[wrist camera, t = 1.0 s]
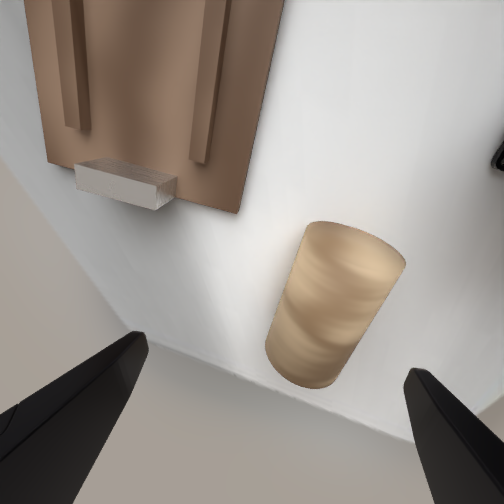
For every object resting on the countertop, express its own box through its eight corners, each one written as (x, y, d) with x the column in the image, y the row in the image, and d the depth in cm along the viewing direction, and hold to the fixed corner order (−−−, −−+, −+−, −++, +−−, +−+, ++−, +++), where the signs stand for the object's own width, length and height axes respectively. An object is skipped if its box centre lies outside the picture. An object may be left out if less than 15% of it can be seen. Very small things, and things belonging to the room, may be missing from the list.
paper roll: (393, 240, 18) (419, 286, 13) (338, 339, 23) (340, 402, 17) (310, 213, 19) (301, 246, 13) (273, 315, 23) (256, 368, 18)
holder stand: (313, -132, 11) (320, -238, 8) (238, 210, 19) (226, 230, 15) (8, -206, 12) (-109, -339, 8) (57, 160, 19) (6, 169, 16)
